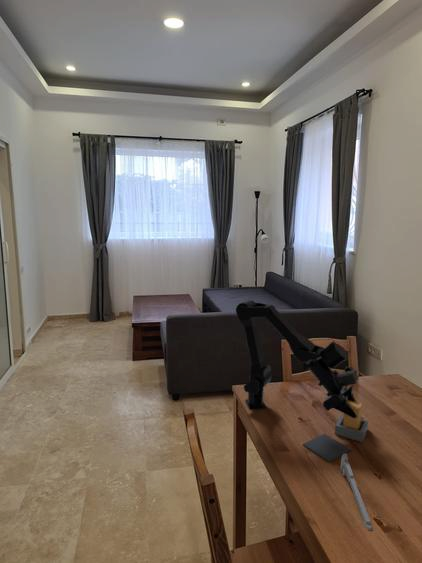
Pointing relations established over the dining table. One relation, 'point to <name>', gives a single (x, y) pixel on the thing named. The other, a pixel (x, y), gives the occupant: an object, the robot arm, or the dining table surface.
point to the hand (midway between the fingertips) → (357, 414)
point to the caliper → (355, 489)
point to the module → (353, 422)
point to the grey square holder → (351, 430)
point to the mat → (327, 447)
